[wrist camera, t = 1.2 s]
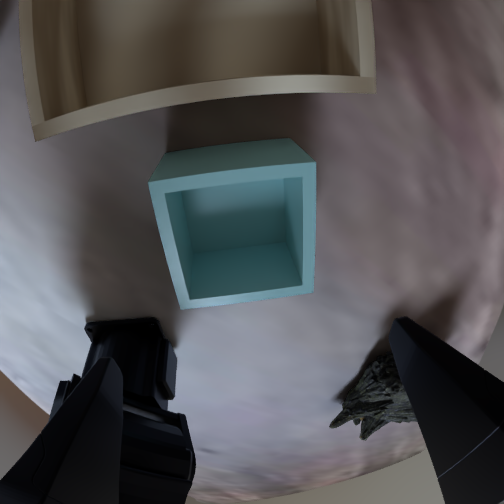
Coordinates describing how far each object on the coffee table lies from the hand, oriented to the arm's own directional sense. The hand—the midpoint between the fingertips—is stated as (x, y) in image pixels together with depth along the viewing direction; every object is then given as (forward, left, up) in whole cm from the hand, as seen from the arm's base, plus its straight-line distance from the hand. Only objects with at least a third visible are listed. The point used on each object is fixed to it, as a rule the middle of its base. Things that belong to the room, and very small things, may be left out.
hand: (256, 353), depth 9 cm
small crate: (0, 0, -11) cm, 11 cm away
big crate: (-1, +14, -11) cm, 18 cm away
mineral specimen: (+14, -22, -12) cm, 28 cm away
